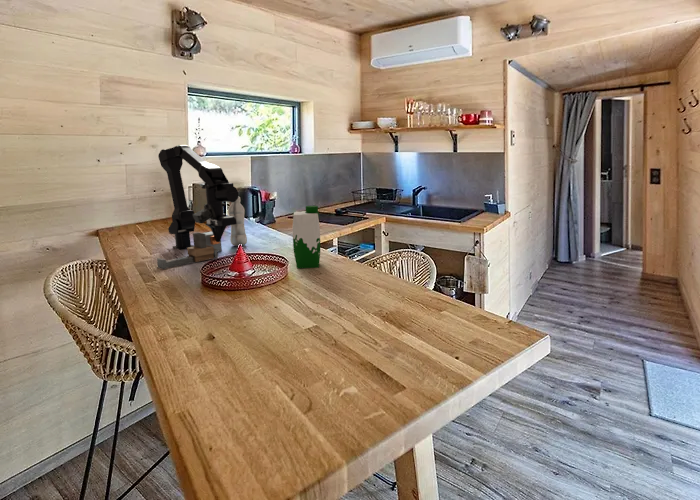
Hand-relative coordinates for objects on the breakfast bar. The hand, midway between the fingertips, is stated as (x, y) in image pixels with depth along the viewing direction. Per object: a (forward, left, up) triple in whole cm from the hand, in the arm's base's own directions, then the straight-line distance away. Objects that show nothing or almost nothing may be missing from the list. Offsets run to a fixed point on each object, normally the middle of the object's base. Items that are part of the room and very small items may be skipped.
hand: (218, 241), depth 178 cm
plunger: (-5, 0, -1) cm, 5 cm away
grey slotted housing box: (-7, 0, -4) cm, 8 cm away
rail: (+4, -15, -4) cm, 16 cm away
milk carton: (+41, +8, -5) cm, 42 cm away
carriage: (+4, -10, -4) cm, 12 cm away
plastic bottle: (-6, +13, -5) cm, 15 cm away
